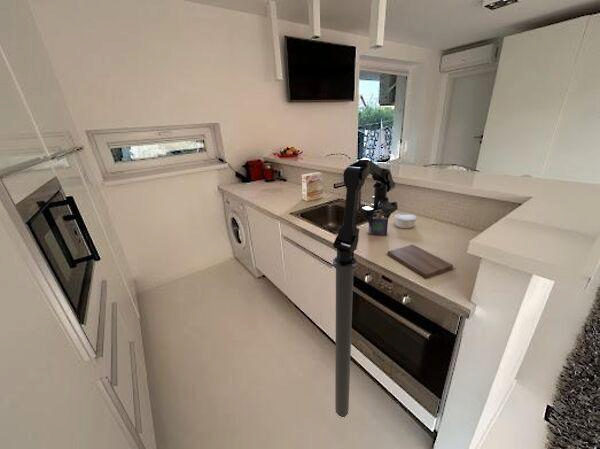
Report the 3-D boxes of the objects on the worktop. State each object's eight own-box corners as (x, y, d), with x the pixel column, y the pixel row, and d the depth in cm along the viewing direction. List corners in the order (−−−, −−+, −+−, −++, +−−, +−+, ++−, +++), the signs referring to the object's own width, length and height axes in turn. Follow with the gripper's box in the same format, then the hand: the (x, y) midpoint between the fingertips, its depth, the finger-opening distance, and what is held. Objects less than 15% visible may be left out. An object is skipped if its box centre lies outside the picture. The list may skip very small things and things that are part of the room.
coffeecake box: (307, 201, 186) (306, 175, 179) (302, 199, 192) (301, 174, 185) (323, 197, 193) (322, 173, 186) (318, 195, 199) (317, 171, 192)
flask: (367, 234, 127) (369, 214, 123) (368, 232, 129) (369, 213, 125) (386, 236, 124) (388, 216, 120) (386, 233, 126) (388, 214, 122)
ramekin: (409, 221, 140) (410, 212, 138) (419, 228, 130) (420, 219, 128) (390, 222, 140) (391, 213, 138) (398, 229, 130) (399, 220, 128)
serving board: (425, 278, 89) (426, 274, 89) (387, 254, 107) (387, 251, 106) (452, 268, 94) (453, 265, 94) (412, 247, 111) (412, 244, 111)
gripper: (375, 202, 108) (373, 234, 114) (407, 195, 115) (404, 226, 121) (360, 196, 118) (359, 226, 124) (390, 190, 124) (388, 219, 130)
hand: (378, 224), depth 124 cm, fingers open, 9 cm apart
